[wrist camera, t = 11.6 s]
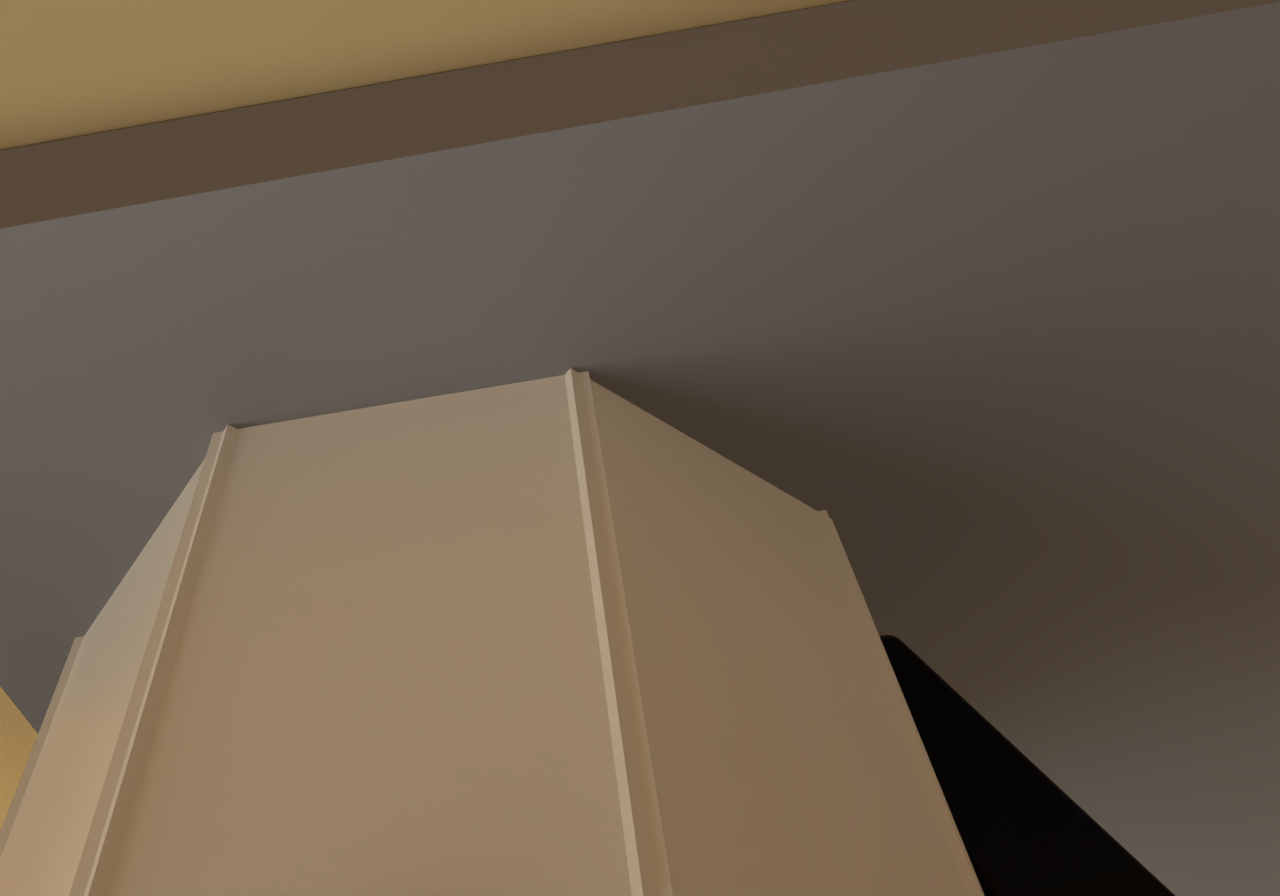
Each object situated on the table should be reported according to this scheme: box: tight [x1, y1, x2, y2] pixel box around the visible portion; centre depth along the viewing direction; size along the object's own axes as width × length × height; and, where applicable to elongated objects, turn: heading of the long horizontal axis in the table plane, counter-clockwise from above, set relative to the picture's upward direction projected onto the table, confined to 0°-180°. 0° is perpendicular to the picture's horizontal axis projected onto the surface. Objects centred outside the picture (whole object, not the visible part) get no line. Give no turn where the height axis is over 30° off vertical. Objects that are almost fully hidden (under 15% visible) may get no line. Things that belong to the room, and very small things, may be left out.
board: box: [0, 0, 1280, 896], centre depth 11 cm, size 16×14×5 cm
